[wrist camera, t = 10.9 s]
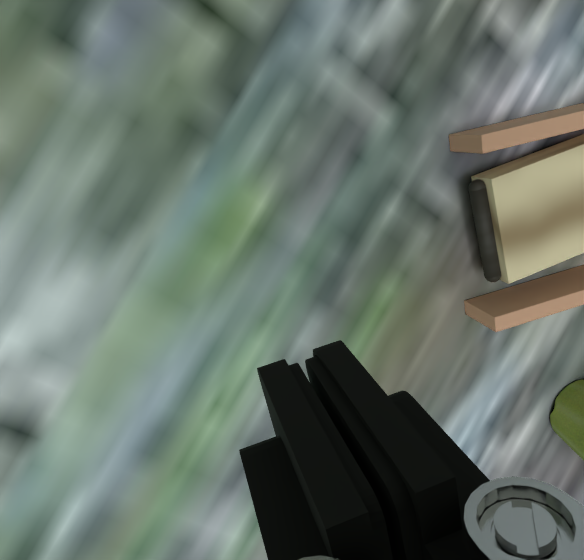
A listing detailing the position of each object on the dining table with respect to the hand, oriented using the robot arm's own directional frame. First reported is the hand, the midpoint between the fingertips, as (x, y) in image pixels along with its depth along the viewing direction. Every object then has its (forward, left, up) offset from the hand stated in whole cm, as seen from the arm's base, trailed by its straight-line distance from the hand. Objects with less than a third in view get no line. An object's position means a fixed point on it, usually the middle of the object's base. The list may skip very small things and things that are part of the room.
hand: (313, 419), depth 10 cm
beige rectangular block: (+5, +25, -26) cm, 36 cm away
